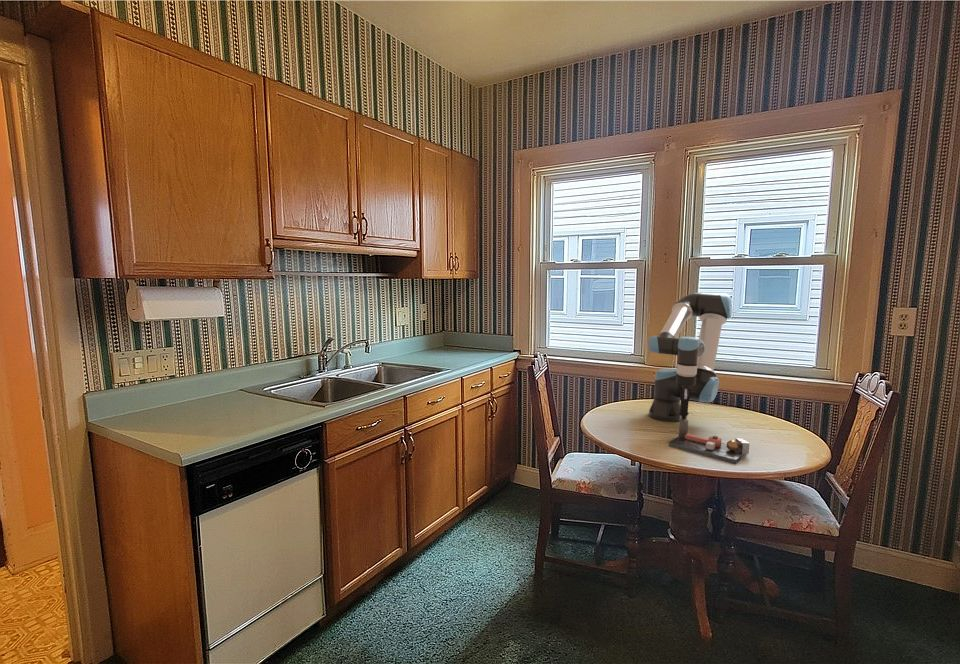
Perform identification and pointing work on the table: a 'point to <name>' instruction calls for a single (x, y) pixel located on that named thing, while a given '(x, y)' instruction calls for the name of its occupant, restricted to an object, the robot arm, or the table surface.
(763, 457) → the table surface
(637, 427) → the table surface
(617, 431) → the table surface
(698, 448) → the base
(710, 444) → the lever
